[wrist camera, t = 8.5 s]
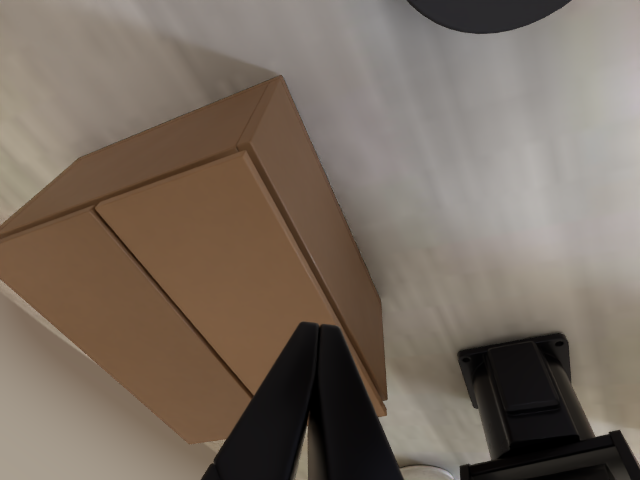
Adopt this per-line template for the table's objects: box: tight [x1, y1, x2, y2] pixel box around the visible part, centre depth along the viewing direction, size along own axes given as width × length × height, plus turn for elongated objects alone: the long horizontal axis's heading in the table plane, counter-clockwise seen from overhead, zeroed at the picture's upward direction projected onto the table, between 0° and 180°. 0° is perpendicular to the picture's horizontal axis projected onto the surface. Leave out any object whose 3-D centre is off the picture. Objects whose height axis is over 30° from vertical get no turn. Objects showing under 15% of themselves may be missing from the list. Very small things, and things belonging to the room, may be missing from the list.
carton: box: [0, 75, 388, 444], centre depth 20 cm, size 14×11×7 cm
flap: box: [95, 150, 387, 426], centre depth 16 cm, size 14×5×1 cm, turn 22°
